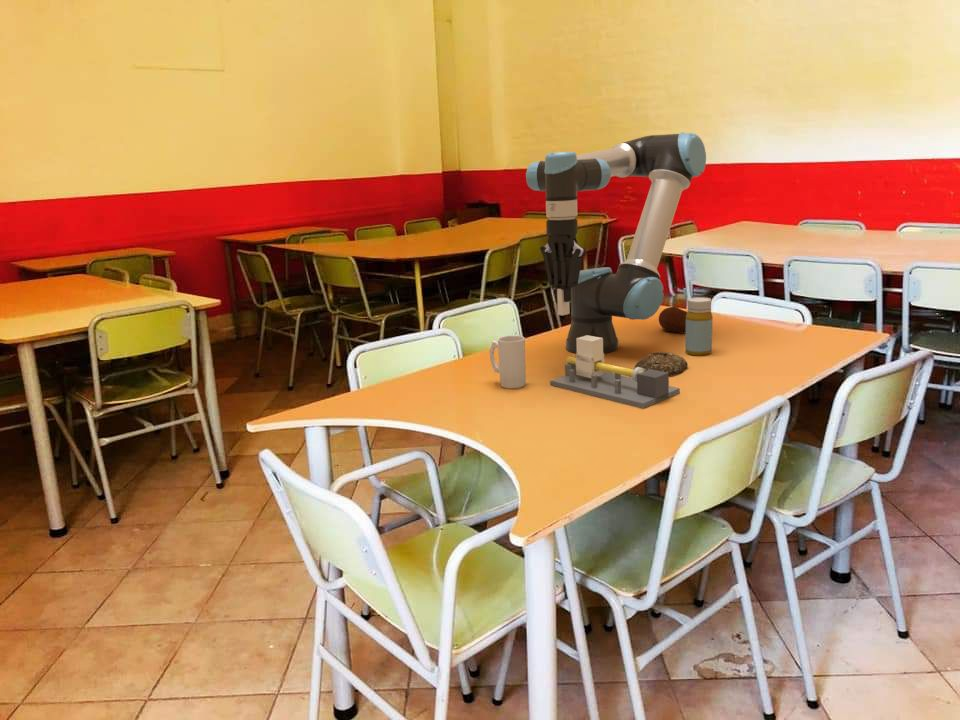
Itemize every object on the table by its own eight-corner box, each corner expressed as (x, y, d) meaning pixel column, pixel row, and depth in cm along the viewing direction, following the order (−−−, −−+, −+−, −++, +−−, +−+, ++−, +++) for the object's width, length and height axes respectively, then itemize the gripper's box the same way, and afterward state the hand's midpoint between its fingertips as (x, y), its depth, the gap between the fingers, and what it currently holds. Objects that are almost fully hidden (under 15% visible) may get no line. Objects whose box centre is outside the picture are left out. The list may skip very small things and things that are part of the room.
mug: (531, 383, 188) (530, 337, 185) (517, 390, 183) (514, 343, 179) (499, 378, 194) (496, 333, 190) (483, 385, 188) (481, 339, 185)
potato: (687, 336, 224) (687, 310, 222) (652, 332, 232) (652, 307, 230) (697, 331, 230) (698, 306, 228) (663, 327, 237) (663, 303, 235)
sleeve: (576, 374, 184) (575, 338, 182) (588, 370, 187) (588, 334, 185) (591, 378, 181) (591, 341, 178) (604, 373, 184) (604, 337, 181)
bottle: (683, 355, 204) (684, 301, 201) (686, 349, 211) (687, 296, 207) (710, 356, 202) (711, 302, 198) (712, 350, 208) (714, 297, 204)
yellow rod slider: (550, 385, 185) (549, 359, 184) (587, 372, 194) (586, 347, 192) (643, 408, 165) (643, 379, 163) (679, 393, 174) (680, 365, 172)
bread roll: (693, 368, 193) (694, 349, 192) (670, 380, 185) (670, 361, 184) (650, 361, 202) (650, 343, 201) (625, 372, 193) (625, 353, 192)
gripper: (531, 219, 182) (534, 313, 188) (571, 220, 173) (573, 320, 179) (552, 216, 187) (554, 308, 193) (592, 217, 177) (593, 314, 183)
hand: (563, 314), depth 186 cm, fingers closed
